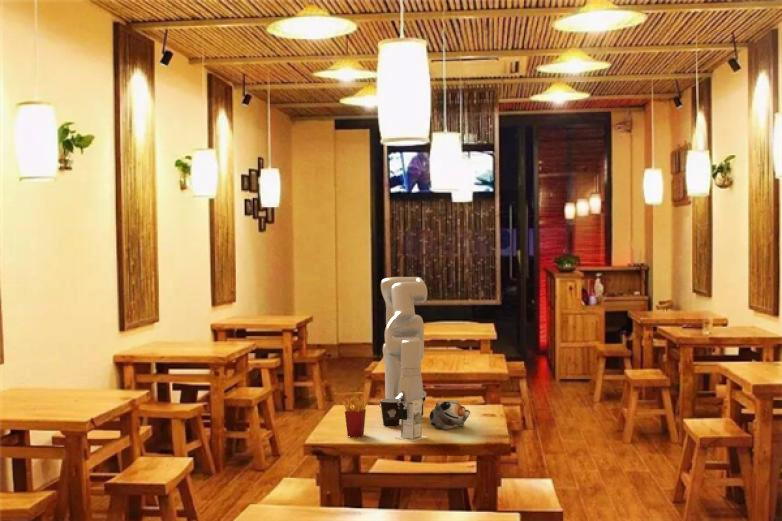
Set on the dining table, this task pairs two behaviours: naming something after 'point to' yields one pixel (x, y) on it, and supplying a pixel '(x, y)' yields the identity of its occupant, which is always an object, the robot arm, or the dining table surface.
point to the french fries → (355, 417)
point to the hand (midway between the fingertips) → (411, 417)
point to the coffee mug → (390, 412)
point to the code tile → (412, 439)
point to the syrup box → (412, 420)
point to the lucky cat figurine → (448, 415)
